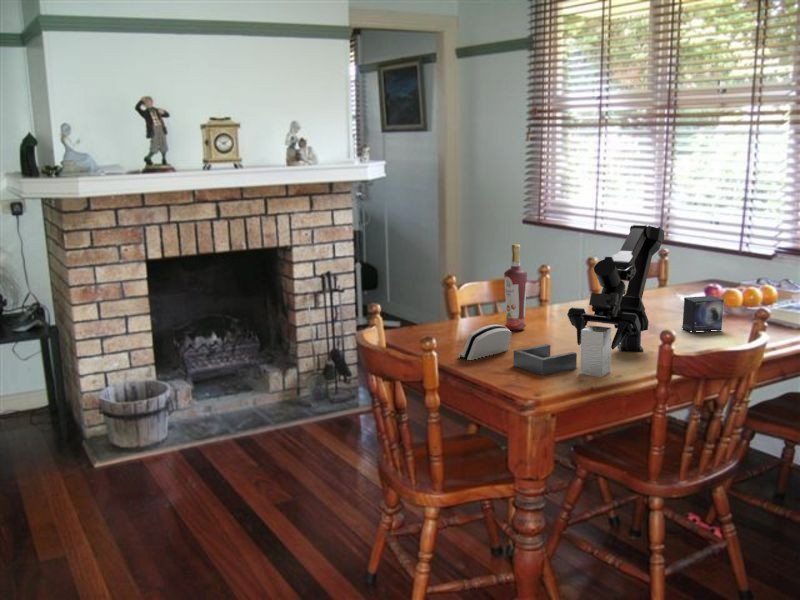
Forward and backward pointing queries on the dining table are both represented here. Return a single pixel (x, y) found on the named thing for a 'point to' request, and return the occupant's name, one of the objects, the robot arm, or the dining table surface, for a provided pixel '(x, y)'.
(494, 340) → the grey rounded block
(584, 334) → the block
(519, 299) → the liquor
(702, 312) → the small box
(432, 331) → the dining table surface
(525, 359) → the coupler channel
